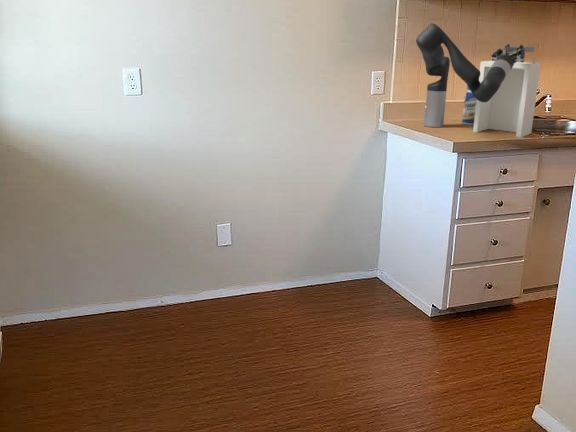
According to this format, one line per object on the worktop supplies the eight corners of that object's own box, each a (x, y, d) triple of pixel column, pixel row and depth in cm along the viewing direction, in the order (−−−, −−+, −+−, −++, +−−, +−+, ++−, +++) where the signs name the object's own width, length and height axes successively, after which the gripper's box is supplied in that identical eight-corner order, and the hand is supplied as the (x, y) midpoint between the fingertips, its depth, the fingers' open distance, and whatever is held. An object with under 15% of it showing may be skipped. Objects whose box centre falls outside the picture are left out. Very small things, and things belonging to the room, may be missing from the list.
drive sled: (504, 52, 266) (505, 46, 266) (522, 51, 285) (523, 46, 284) (516, 52, 264) (517, 47, 263) (533, 51, 282) (534, 46, 281)
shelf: (473, 131, 292) (481, 55, 282) (485, 127, 304) (493, 55, 294) (520, 137, 279) (530, 58, 269) (531, 133, 292) (541, 57, 281)
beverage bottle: (480, 123, 317) (485, 83, 311) (475, 125, 310) (480, 84, 305) (464, 122, 322) (468, 82, 316) (459, 123, 315) (463, 83, 309)
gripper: (485, 74, 266) (499, 53, 275) (518, 76, 258) (532, 54, 267) (483, 58, 261) (498, 37, 270) (518, 60, 253) (532, 39, 262)
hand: (515, 46), depth 268 cm, fingers closed on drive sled, 5 cm apart
